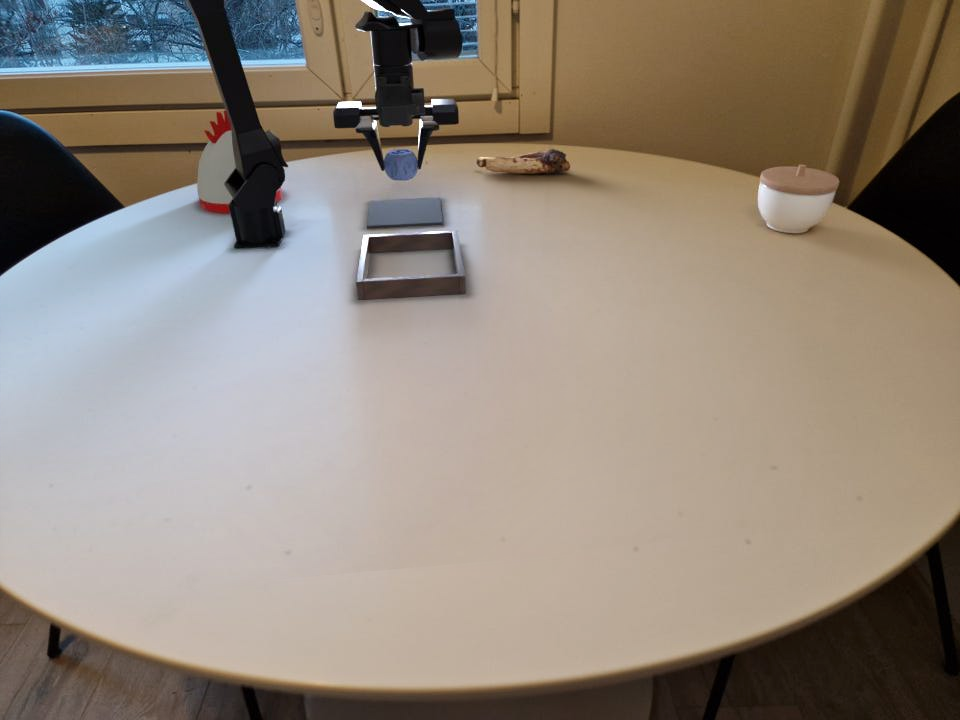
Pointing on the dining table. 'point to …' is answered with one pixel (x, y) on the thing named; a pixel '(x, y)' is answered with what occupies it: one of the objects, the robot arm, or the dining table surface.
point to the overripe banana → (528, 163)
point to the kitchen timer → (218, 168)
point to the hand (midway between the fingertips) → (401, 169)
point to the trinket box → (795, 197)
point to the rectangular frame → (415, 283)
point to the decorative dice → (400, 164)
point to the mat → (405, 213)
